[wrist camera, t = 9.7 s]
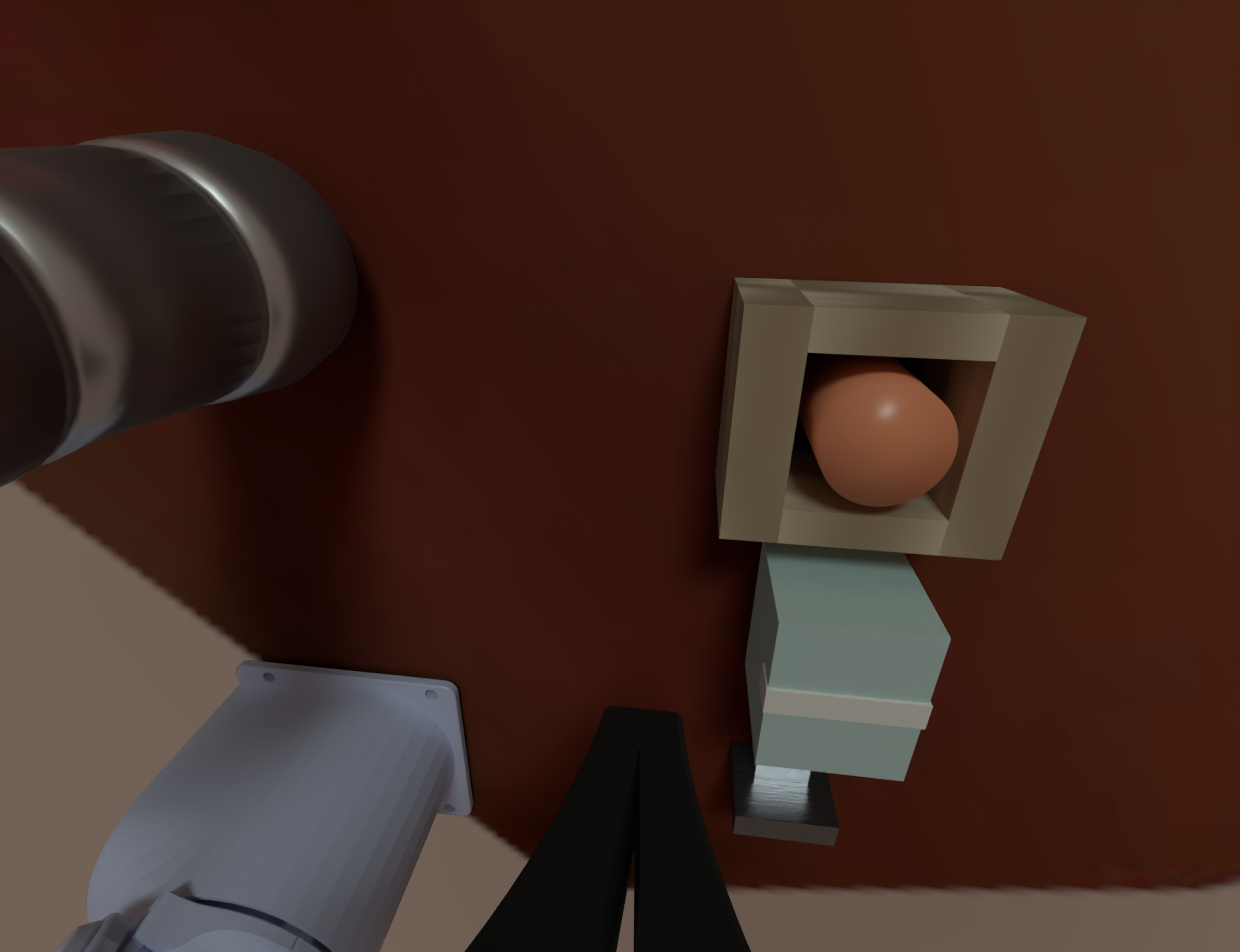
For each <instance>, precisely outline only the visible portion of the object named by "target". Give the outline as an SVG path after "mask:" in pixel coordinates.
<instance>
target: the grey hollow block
mask: <svg viewBox="0 0 1240 952" xmlns="http://www.w3.org/2000/svg"><path fill="white" fill-rule="evenodd" d="M1086 320H1087V318H1086V317H1084V316H1081V315H1078V314H1075V313H1072V312H1069V311H1067V310H1064V309H1061V308H1058V307H1055V306H1053V305H1050V304H1047V303H1044V302H1041V301H1038V300H1036V299H1033V298H1030V297H1027V296H1024V295H1021V294H1019V293H1016V292H1013V291H1010V290H1007V289H1004V288H1002V287H981V286H953V285H926V284H898V283H870V282H843V281H815V280H787V279H760V278H734V288H733V298H732V308H731V318H730V329H729V339H728V349H727V359H726V369H725V379H724V390H723V400H722V410H721V420H720V430H719V441H718V451H717V461H716V471H715V475H716V492H717V510H718V527H719V539H731V540H744V541H757V542H770V543H783V544H796V545H809V546H822V547H835V548H848V549H861V550H874V551H887V552H900V553H913V554H926V555H939V556H952V557H965V558H978V559H991V560H1001V559H1002V556H1003V553H1004V551H1005V548H1006V545H1007V542H1008V539H1009V537H1010V534H1011V531H1012V528H1013V525H1014V522H1015V520H1016V517H1017V514H1018V511H1019V508H1020V506H1021V503H1022V500H1023V497H1024V494H1025V491H1026V489H1027V486H1028V483H1029V480H1030V477H1031V475H1032V472H1033V469H1034V466H1035V463H1036V460H1037V458H1038V455H1039V452H1040V449H1041V446H1042V444H1043V441H1044V438H1045V435H1046V432H1047V430H1048V427H1049V424H1050V421H1051V418H1052V415H1053V413H1054V410H1055V407H1056V404H1057V401H1058V399H1059V396H1060V393H1061V390H1062V387H1063V384H1064V382H1065V379H1066V376H1067V373H1068V370H1069V368H1070V365H1071V362H1072V359H1073V356H1074V353H1075V351H1076V348H1077V345H1078V342H1079V339H1080V337H1081V334H1082V331H1083V328H1084V325H1085V322H1086ZM807 353H826V354H847V355H868V356H889V357H910V358H924V360H923V364H922V369H921V373H920V377H919V381H920V382H922V383H923V384H924V385H925V386H926V387H927V388H928V389H929V390H930V391H932V392H933V393H934V394H935V395H936V396H937V397H938V398H939V399H940V400H941V401H943V403H944V404H945V405H946V406H947V407H948V408H949V410H950V411H951V413H952V414H953V417H954V419H955V421H956V425H957V428H958V447H957V452H956V455H955V458H954V461H953V463H952V465H951V467H950V468H949V470H948V471H947V473H946V474H945V476H944V477H943V478H942V479H941V480H940V481H939V482H938V483H937V484H936V485H935V486H934V487H933V488H932V489H930V490H929V491H927V492H926V493H925V494H923V495H921V496H919V497H918V498H915V499H913V500H911V501H909V502H905V503H902V504H899V505H894V506H886V507H872V506H865V505H861V504H857V503H854V502H852V501H849V500H847V499H846V498H844V497H842V496H841V495H839V494H838V493H837V492H836V491H835V490H834V489H833V488H832V487H831V486H830V485H829V484H828V482H827V481H826V479H825V477H824V475H823V473H822V471H821V469H820V466H819V464H818V462H817V459H816V457H815V454H814V452H813V450H808V449H792V448H793V442H794V436H795V429H796V423H797V417H798V410H799V404H800V398H801V391H802V385H803V379H804V372H805V366H806V360H807Z"/></svg>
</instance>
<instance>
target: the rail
mask: <svg viewBox="0 0 1240 952" xmlns="http://www.w3.org/2000/svg"><path fill="white" fill-rule="evenodd" d="M729 768H730V787H731V806H732V824H733V834H741V835H749V836H757V837H765V838H773V839H781V840H789V841H798V842H806V843H814V844H822V845H830V846H834V845H835V841H836V838H837V834H838V830H839V825H838V821H837V816H836V812H835V807H834V802H833V798H832V793H831V789H830V784H829V779H828V775H827V773H826V772H817V771H808V770H799V769H790V768H781V767H772V766H764V765H755V760H754V750H753V740H752V744H747V743H738V742H731V748H730V755H729Z"/></svg>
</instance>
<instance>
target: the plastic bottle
mask: <svg viewBox="0 0 1240 952" xmlns="http://www.w3.org/2000/svg"><path fill="white" fill-rule="evenodd" d="M357 297H358V285H357V271H356V267H355V263H354V259H353V255H352V251H351V248H350V245H349V243H348V241H347V239H346V236H345V234H344V232H343V229H342V227H341V225H340V224H339V222H338V220H337V219H336V217H335V216H334V214H333V213H332V211H331V210H330V208H329V206H328V205H327V203H326V202H325V201H324V200H323V199H322V198H321V197H320V196H319V194H318V193H317V192H316V191H315V190H314V189H313V188H312V187H311V185H310V184H309V183H307V182H306V181H305V180H304V179H302V178H301V177H300V176H299V175H298V174H296V173H295V172H294V171H293V170H291V169H290V168H289V167H287V166H286V165H284V164H282V163H280V162H279V161H277V160H275V159H273V158H272V157H270V156H268V155H266V154H263V153H260V152H258V151H255V150H252V149H249V148H246V147H243V146H240V145H237V144H234V143H231V142H228V141H225V140H222V139H219V138H216V137H213V136H210V135H207V134H202V133H195V132H187V131H180V130H176V131H165V132H153V133H142V134H131V135H121V136H111V137H105V138H101V139H96V140H92V141H87V142H82V143H80V144H77V145H72V146H48V147H24V148H0V487H2V486H4V485H6V484H8V483H10V482H12V481H14V480H16V479H18V478H20V477H22V476H24V475H26V474H27V473H29V472H31V471H33V470H35V469H36V468H38V467H40V466H41V465H44V464H49V463H51V462H53V461H55V460H57V459H59V458H61V457H63V456H65V455H67V454H69V453H71V452H73V451H75V450H77V449H79V448H81V447H83V446H85V445H87V444H89V443H91V442H93V441H96V440H99V439H102V438H105V437H108V436H111V435H114V434H117V433H120V432H123V431H126V430H129V429H132V428H135V427H138V426H141V425H145V424H148V423H151V422H154V421H157V420H160V419H163V418H166V417H169V416H172V415H175V414H178V413H181V412H184V411H187V410H190V409H193V408H196V407H199V406H202V405H211V404H217V403H223V402H229V401H234V400H238V399H242V398H246V397H250V396H254V395H258V394H261V393H265V392H268V391H272V390H275V389H279V388H283V387H286V386H288V385H290V384H292V383H294V382H296V381H298V380H300V379H302V378H304V377H305V376H306V375H307V374H308V373H310V372H311V371H312V370H313V369H314V368H315V367H316V366H317V365H319V364H320V363H321V362H322V361H323V360H324V359H325V358H326V357H328V356H329V355H330V354H331V353H332V352H333V351H334V350H335V349H336V348H338V347H339V345H340V344H341V342H342V341H343V339H344V338H345V336H346V335H347V333H348V332H349V329H350V327H351V324H352V321H353V319H354V316H355V312H356V305H357Z"/></svg>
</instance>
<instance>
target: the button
mask: <svg viewBox="0 0 1240 952" xmlns="http://www.w3.org/2000/svg"><path fill="white" fill-rule="evenodd" d="M798 417H799V419H800V421H801V424H802V426H803V428H804V431H805V433H806V436H807V438H808V440H809V443H810V445H811V447H812V450H813V452H814V454H815V457H816V459H817V462H818V464H819V466H820V469H821V471H822V473H823V475H824V477H825V479H826V481H827V482H828V484H829V485H830V486H831V487H832V488H833V489H834V490H835V491H836V492H837V493H838V494H839V495H841V496H842V497H844V498H846V499H847V500H849V501H852V502H854V503H857V504H861V505H865V506H872V507H886V506H894V505H899V504H902V503H905V502H909V501H911V500H913V499H915V498H918V497H919V496H921V495H923V494H925V493H926V492H927V491H929V490H930V489H932V488H933V487H934V486H935V485H936V484H937V483H938V482H939V481H940V480H941V479H942V478H943V477H944V476H945V474H946V473H947V471H948V470H949V468H950V467H951V465H952V463H953V461H954V458H955V455H956V452H957V447H958V428H957V425H956V421H955V419H954V417H953V414H952V413H951V411H950V410H949V408H948V407H947V406H946V405H945V404H944V403H943V401H941V400H940V399H939V398H938V397H937V396H936V395H935V394H934V393H933V392H932V391H930V390H929V389H928V388H927V387H926V386H925V385H924V384H923V383H922V382H920V381H919V380H918V379H917V378H916V377H915V376H914V375H913V374H912V373H911V372H909V371H908V370H907V369H906V368H905V367H904V366H903V365H902V364H901V363H900V362H898V361H897V360H896V359H895V358H894V357H889V356H868V355H847V354H826V353H819V354H817V355H816V356H815V357H814V358H813V359H812V360H811V361H810V362H809V363H808V364H807V365H806V366H805V372H804V379H803V385H802V391H801V398H800V404H799V410H798Z"/></svg>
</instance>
